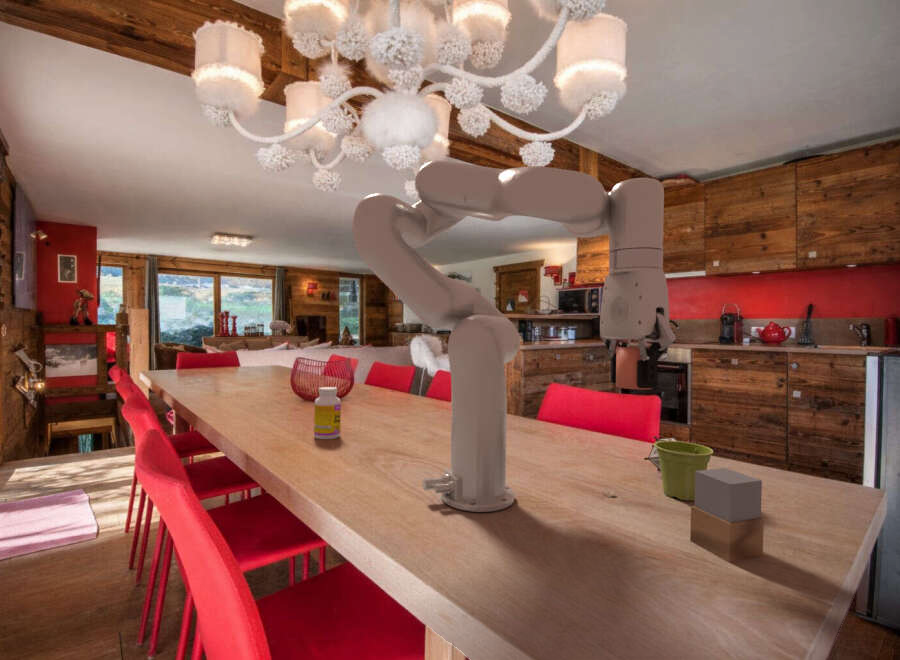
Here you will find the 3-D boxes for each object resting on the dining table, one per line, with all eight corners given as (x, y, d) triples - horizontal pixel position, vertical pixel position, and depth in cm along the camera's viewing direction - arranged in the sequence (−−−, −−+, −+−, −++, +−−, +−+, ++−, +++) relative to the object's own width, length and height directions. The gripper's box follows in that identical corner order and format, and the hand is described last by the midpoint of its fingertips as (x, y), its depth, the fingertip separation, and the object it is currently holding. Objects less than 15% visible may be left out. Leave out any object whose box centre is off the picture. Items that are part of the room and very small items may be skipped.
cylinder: (631, 390, 65) (632, 348, 65) (608, 385, 69) (609, 346, 69) (659, 388, 66) (660, 348, 66) (635, 384, 71) (635, 346, 71)
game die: (679, 496, 90) (705, 466, 84) (637, 478, 91) (660, 447, 85) (677, 464, 97) (701, 433, 91) (638, 447, 98) (660, 416, 93)
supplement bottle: (336, 440, 114) (337, 390, 114) (310, 440, 114) (311, 389, 114) (343, 434, 121) (343, 386, 121) (318, 433, 121) (319, 386, 121)
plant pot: (645, 485, 86) (646, 439, 85) (695, 486, 85) (696, 440, 85) (667, 504, 76) (668, 453, 76) (723, 506, 76) (724, 455, 76)
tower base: (728, 563, 58) (729, 524, 58) (690, 541, 63) (691, 506, 63) (762, 556, 60) (763, 518, 59) (722, 535, 65) (723, 501, 65)
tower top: (729, 522, 58) (730, 484, 58) (694, 506, 63) (695, 471, 63) (761, 517, 60) (761, 480, 60) (724, 502, 65) (724, 467, 65)
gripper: (580, 269, 74) (578, 379, 75) (658, 254, 58) (656, 394, 59) (617, 272, 77) (615, 378, 77) (702, 258, 61) (700, 392, 61)
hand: (633, 383), depth 68 cm, fingers closed on cylinder, 5 cm apart
